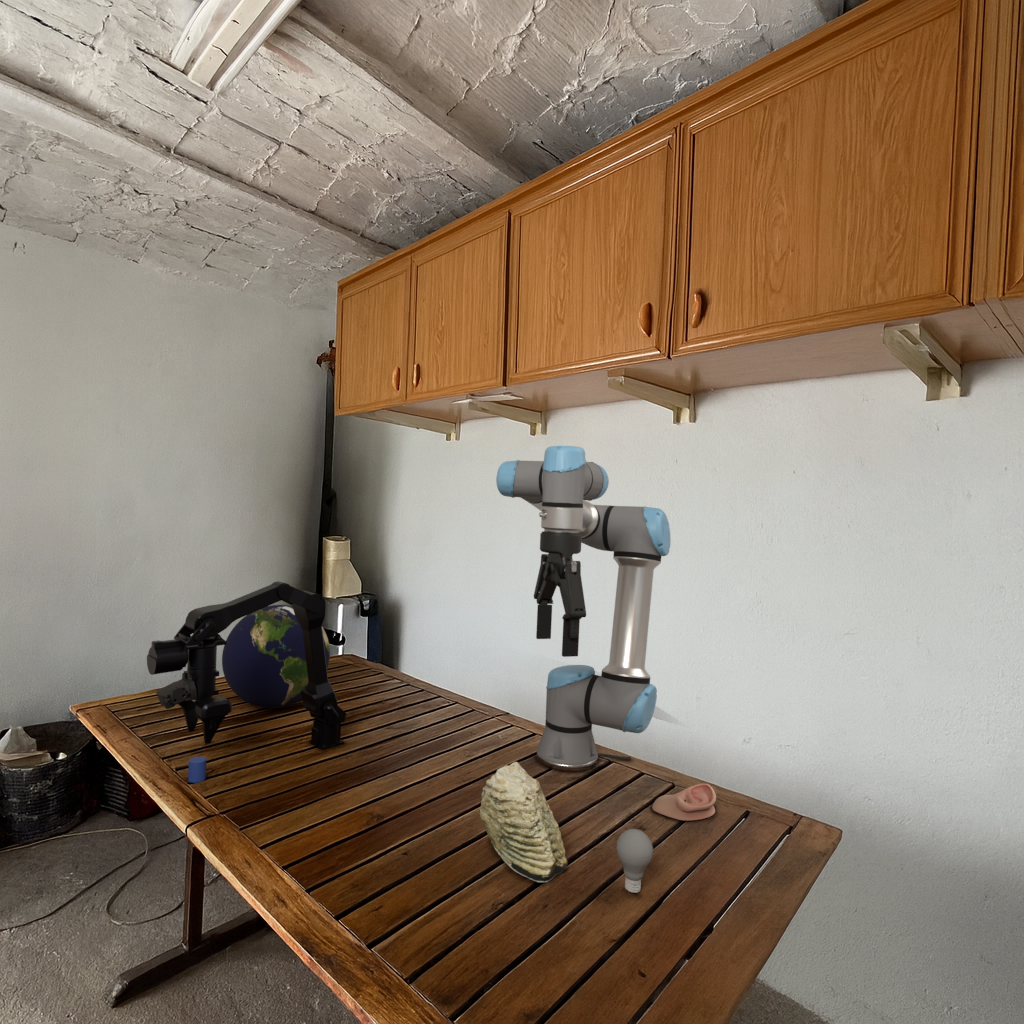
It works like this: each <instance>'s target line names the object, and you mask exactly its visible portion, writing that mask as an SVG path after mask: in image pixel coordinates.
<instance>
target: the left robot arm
mask: <svg viewBox="0 0 1024 1024" xmlns="http://www.w3.org/2000/svg"><path fill="white" fill-rule="evenodd" d="M281 601H282V602H283V603H286V604H287V605H290V606H292V607H293V610H294V613H295V616H296V618H297V620H298V622H299V624H300V626H301V628H302V632H303V641H304V649H305V657H306V665H307V674H308V685H307V688H306V689H304V690H301V695H302V700H301V701H302V702H301V706H303V707H304V708H305V711H307V712H309V715H310V717H311V718H313V721H312V722H313V723H312V727H311V730H310V731H311V732H310V733H311V735H310V739H309V740H308V743H309V744H310V745H313V746H314V747H316V748H318V749H320V750H327V749H329V748H333V747H336V746H340V745H343V744H344V743H345V741H344V740H343V739H341V737H342V735H341V733H342V723H344V722H345V720H346V717H347V712H346V711H344V709H342V708H341V707H340V706H339V703H338V702H339V701H338V699H337V695H336V693H335V690H334V688H333V686H332V685H331V682H330V681H329V676H328V668H327V667H326V658H325V650H324V641H323V632H322V627H323V625H324V621H325V620H326V619H325V618H326V617H327V601H326V598H325V596H323V595H322V594H321V593H320V594H319V593H316V592H312V591H309V590H301V589H299V588H296V587H295V586H292V585H290V584H289V583H287V582H283V581H274V582H272V583H271V584H269V585H267V586H263V587H262V588H259V589H257V590H254V591H251V592H250V593H246V594H245V595H242V596H239V597H237V598H234V599H232V600H230V601H227V602H224V603H219V604H218V603H217V604H210V605H206V606H201V607H196V608H194V609H192V610H191V611H189V612H188V613H187V616H186V618H185V621H184V623H183V625H182V626H181V628H179V630H178V631H177V633H176V634H175V635H174V636H173V639H167V640H152V641H151V646H150V648H149V650H148V654H147V655H146V665H147V671H148V673H149V675H151V676H153V675H160V674H166V673H173V672H179V671H182V670H183V669H184V668H186V667H187V668H186V670H183V672H182V673H181V678H180V679H178V680H176V681H173V682H171V683H170V684H167V685H166V686H163V687H161V688H159V689H158V690H156V692H155V693H156V695H157V699H158V700H159V704H160V705H161V706H162V707H164V708H165V709H166V710H169V709H172V708H174V707H176V705H178V706H179V707H181V709H182V712H183V716H184V719H185V723H186V728H187V731H188V732H189V733H191V732H194V731H195V729H196V727H197V725H198V721H201V725H202V734H203V735H202V736H203V742H204V745H209V744H211V743H212V741H213V740H214V737H215V735H216V733H217V731H218V730H219V728H220V726H221V724H222V723H223V721H224V720H225V718H226V716H229V714H231V713H232V708H233V703H232V701H230V700H229V699H228V698H226V697H224V696H222V695H220V694H219V692H220V690H219V689H218V688H216V684H217V683H216V680H217V679H216V678H217V677H220V671H219V670H217V652H218V651H217V650H218V647H219V646H224V645H226V644H227V641H226V640H225V639H224V638H223V637H222V635H221V634H220V633H222V632H223V631H224V630H226V629H228V628H229V627H230V625H231V624H232V623H234V622H236V621H237V620H239V619H242V618H244V617H245V616H247V615H248V614H251V613H253V612H255V611H258V610H260V609H262V608H265V607H267V606H272V605H275V604H277V603H279V602H281Z"/></svg>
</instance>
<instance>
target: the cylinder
mask: <svg viewBox="0 0 1024 1024" xmlns="http://www.w3.org/2000/svg"><path fill="white" fill-rule="evenodd" d="M187 771H188V773H187V782H189V783H191V784H195V783H196V784H197V783H201V782H204V781H205V780H207V779H206V778H207V757H206V756H193V757H192V758H189V760H188V770H187Z"/></svg>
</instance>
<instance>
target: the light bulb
mask: <svg viewBox="0 0 1024 1024" xmlns="http://www.w3.org/2000/svg"><path fill="white" fill-rule="evenodd" d="M615 849H616V854H617V857H618V859H619V861H620V863H621V865H622V867H623V873H624V874H623V875H624V876H625V878H624V888H625V890H627V891H628V892H630V893H634V894H635V893H639V892H640V891H641V889H642V887H641V886H642V879H643V877H644V875H645V871H646V868H647V867H648V866H649V864H650V863H651V861H652V859H653V855H654V847H653V843H652V841H651V838H649V836H648V835H647V834H646V833H645V832H643V831H642V830H641V829H636V828H629V829H627V830H625V831H623V832H622V833H621V834H620V835H619V837H618V839H617V841H616V847H615Z"/></svg>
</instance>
